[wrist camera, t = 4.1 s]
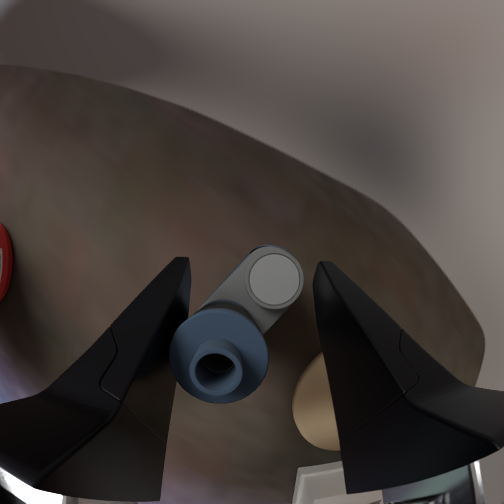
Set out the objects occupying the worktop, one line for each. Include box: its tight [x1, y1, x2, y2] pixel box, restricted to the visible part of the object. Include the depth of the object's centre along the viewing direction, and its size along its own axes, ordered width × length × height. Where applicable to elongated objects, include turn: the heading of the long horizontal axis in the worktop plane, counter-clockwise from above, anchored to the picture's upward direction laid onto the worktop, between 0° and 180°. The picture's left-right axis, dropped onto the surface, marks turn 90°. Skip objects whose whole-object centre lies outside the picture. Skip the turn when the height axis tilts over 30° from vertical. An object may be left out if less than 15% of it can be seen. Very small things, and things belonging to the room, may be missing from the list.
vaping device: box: [169, 245, 304, 403], centre depth 11 cm, size 3×5×12 cm, turn 137°
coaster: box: [292, 352, 340, 451], centre depth 16 cm, size 9×9×1 cm
